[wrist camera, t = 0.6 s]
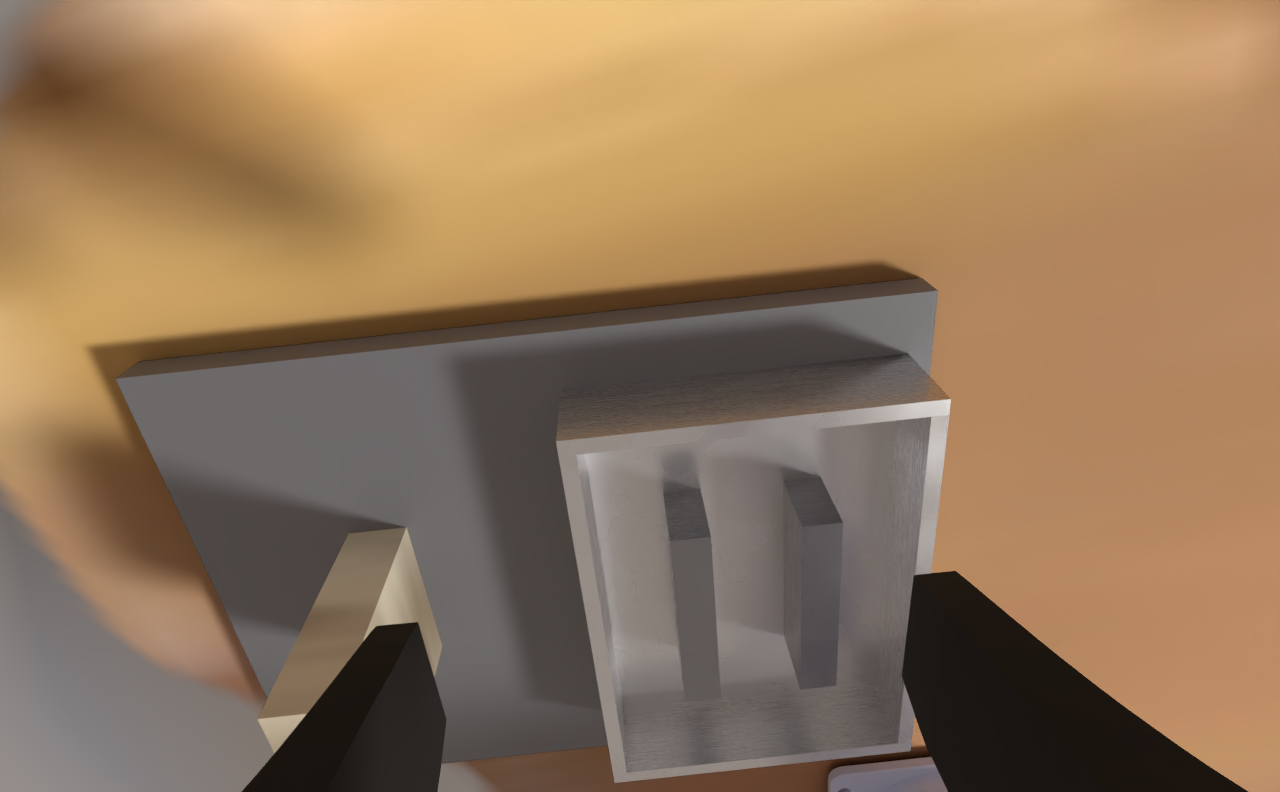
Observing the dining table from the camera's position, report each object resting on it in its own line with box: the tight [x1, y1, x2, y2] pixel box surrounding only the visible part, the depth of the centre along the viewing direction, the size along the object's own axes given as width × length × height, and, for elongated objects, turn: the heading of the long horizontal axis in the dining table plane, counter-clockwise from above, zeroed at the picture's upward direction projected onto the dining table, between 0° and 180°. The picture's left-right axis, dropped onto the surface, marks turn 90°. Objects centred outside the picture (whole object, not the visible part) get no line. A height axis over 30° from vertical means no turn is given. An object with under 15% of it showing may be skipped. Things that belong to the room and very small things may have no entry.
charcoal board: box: [116, 278, 938, 764], centre depth 21 cm, size 15×20×1 cm
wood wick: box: [258, 527, 442, 754], centre depth 18 cm, size 4×2×6 cm, turn 6°
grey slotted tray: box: [556, 354, 951, 783], centre depth 20 cm, size 12×9×2 cm
